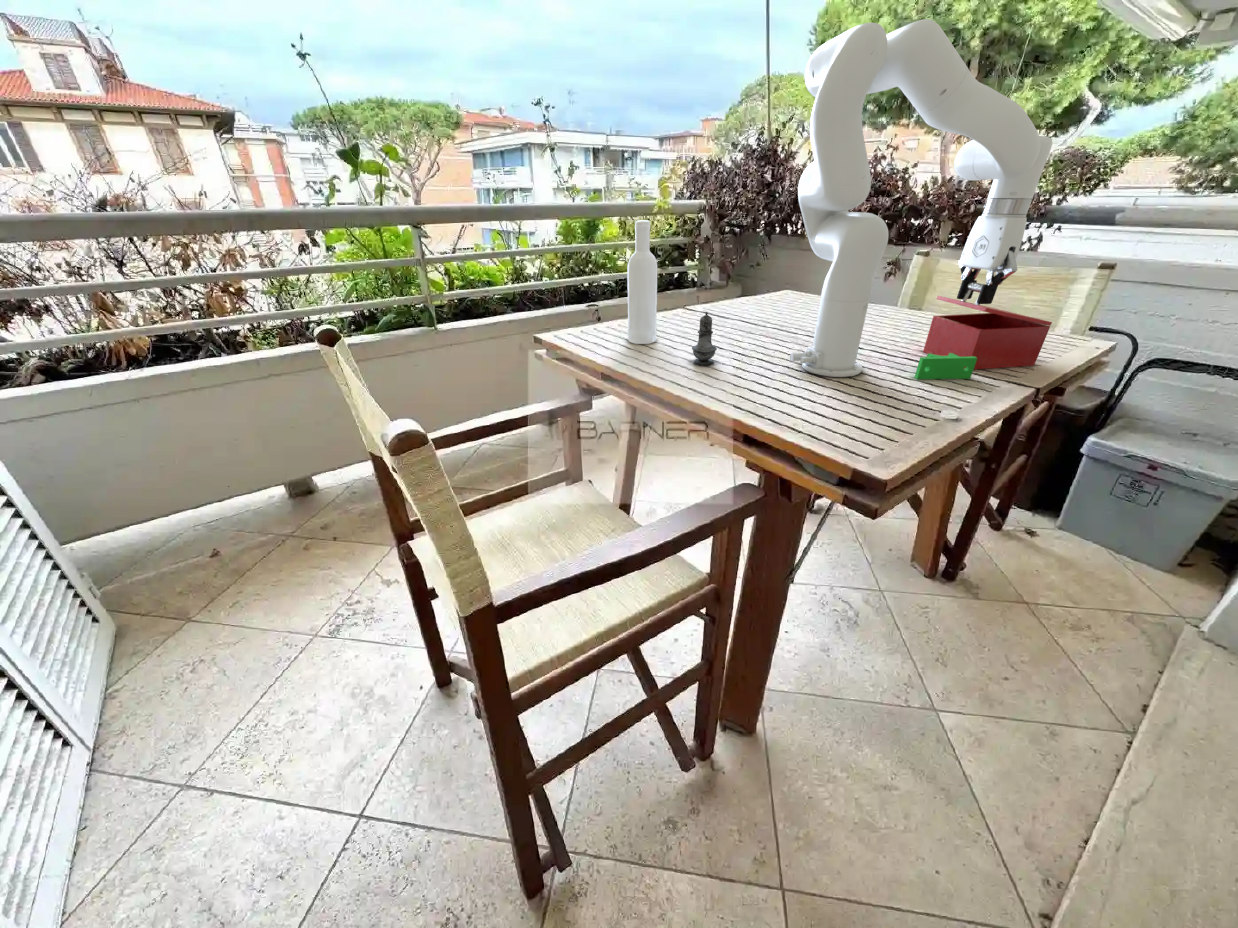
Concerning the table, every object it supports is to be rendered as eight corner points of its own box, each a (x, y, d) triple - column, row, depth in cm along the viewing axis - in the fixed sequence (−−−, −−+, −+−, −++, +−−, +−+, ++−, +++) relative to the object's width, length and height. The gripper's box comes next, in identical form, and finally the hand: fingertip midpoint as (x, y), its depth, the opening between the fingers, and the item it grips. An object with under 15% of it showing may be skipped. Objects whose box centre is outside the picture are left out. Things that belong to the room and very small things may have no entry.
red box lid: (984, 311, 101) (997, 286, 99) (935, 299, 114) (946, 276, 111) (1050, 326, 105) (1064, 302, 102) (996, 312, 117) (1007, 290, 115)
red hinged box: (967, 370, 107) (980, 330, 103) (922, 351, 120) (933, 315, 116) (1034, 365, 109) (1050, 326, 105) (983, 348, 122) (996, 312, 117)
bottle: (622, 341, 134) (620, 221, 120) (639, 335, 140) (639, 219, 125) (644, 346, 130) (645, 221, 115) (662, 339, 135) (664, 220, 120)
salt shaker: (688, 365, 114) (690, 313, 109) (694, 358, 119) (697, 308, 113) (712, 367, 112) (716, 315, 107) (718, 360, 117) (722, 309, 111)
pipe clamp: (959, 373, 106) (966, 352, 104) (970, 379, 102) (977, 358, 100) (908, 373, 106) (914, 353, 104) (916, 379, 103) (923, 358, 100)
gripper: (958, 208, 106) (931, 295, 114) (1025, 210, 91) (988, 309, 100) (989, 208, 107) (960, 294, 115) (1060, 210, 92) (1021, 308, 100)
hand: (973, 300), depth 107 cm, fingers closed on red box lid, 5 cm apart
